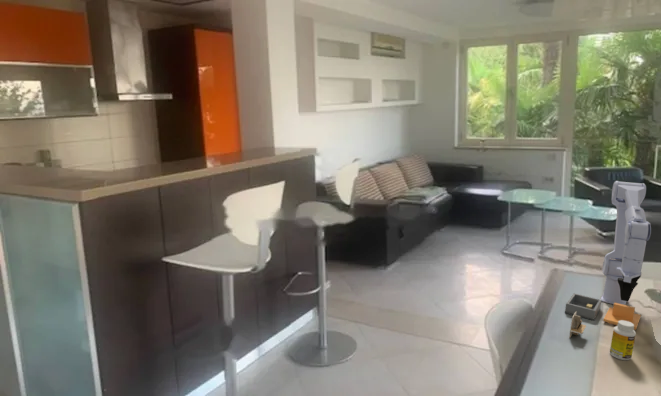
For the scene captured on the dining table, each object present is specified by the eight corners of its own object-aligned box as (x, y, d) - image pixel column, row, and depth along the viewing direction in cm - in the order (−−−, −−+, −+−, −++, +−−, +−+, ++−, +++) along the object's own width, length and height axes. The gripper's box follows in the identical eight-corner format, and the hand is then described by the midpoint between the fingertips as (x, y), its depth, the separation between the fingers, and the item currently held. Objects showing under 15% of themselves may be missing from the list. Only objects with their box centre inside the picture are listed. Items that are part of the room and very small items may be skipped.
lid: (609, 311, 175) (611, 296, 174) (640, 319, 170) (642, 303, 168) (602, 323, 165) (605, 307, 164) (635, 332, 160) (638, 315, 159)
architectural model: (584, 336, 156) (588, 314, 155) (580, 344, 151) (583, 321, 149) (572, 332, 158) (576, 311, 157) (568, 340, 153) (571, 318, 151)
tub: (572, 302, 181) (573, 293, 181) (600, 309, 176) (601, 300, 175) (564, 312, 172) (566, 303, 171) (593, 320, 167) (595, 310, 166)
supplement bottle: (625, 363, 140) (631, 329, 138) (605, 354, 145) (611, 321, 143) (635, 357, 143) (641, 324, 141) (615, 349, 148) (621, 317, 146)
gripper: (622, 250, 171) (615, 287, 174) (615, 260, 159) (609, 300, 162) (646, 254, 167) (639, 292, 170) (641, 265, 155) (634, 306, 158)
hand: (626, 296), depth 166 cm, fingers open, 7 cm apart
